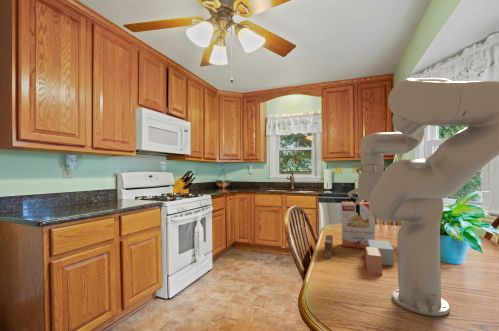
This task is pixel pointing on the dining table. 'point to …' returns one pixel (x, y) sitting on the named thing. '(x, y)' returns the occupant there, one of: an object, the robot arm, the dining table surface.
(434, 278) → the robot arm
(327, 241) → the bookend
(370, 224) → the cracker box
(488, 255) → the dining table surface
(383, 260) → the slate block
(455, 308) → the dining table surface
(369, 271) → the pink rectangular block
